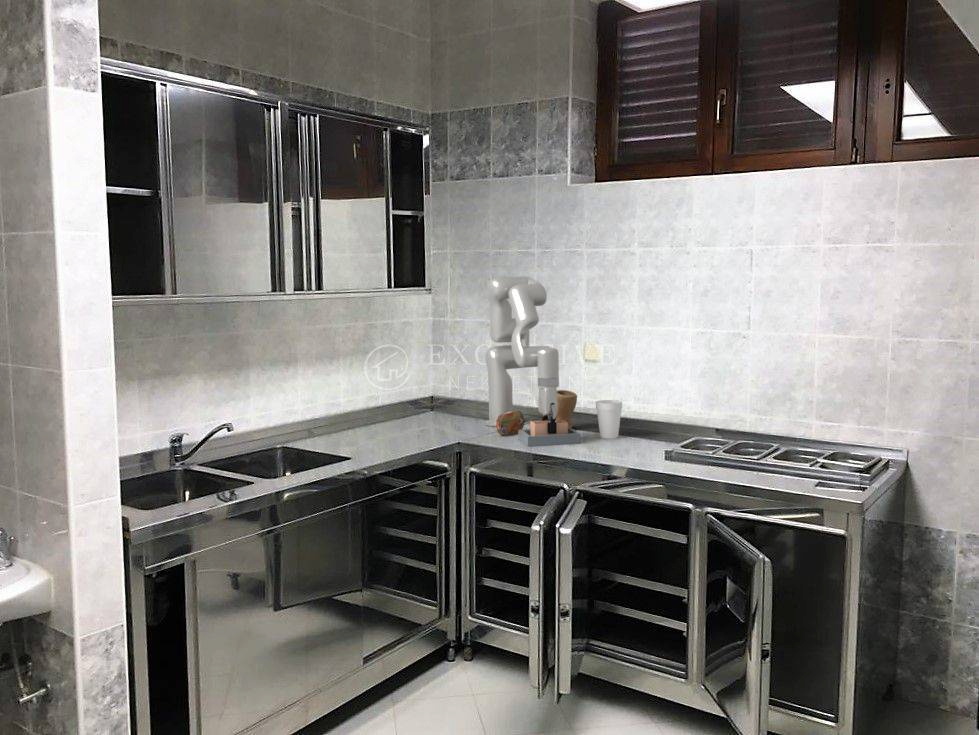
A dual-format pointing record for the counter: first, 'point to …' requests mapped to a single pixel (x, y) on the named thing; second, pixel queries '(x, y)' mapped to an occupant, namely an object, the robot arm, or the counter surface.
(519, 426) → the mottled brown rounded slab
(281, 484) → the counter surface
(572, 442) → the grey tray
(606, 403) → the foam cup
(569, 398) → the brown boot
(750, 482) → the counter surface
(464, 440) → the counter surface
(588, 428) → the counter surface
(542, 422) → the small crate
